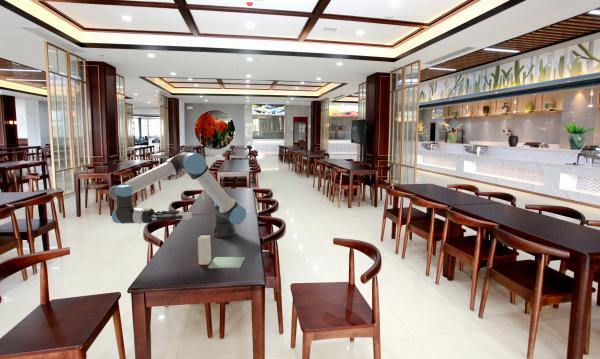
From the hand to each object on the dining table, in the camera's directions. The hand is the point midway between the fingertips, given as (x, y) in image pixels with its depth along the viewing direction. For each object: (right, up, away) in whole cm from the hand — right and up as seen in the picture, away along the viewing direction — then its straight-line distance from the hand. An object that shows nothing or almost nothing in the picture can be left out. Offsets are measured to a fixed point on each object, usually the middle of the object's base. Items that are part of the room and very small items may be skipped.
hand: (190, 215), depth 176 cm
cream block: (+7, -25, +3) cm, 26 cm away
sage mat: (+18, -25, +3) cm, 31 cm away
